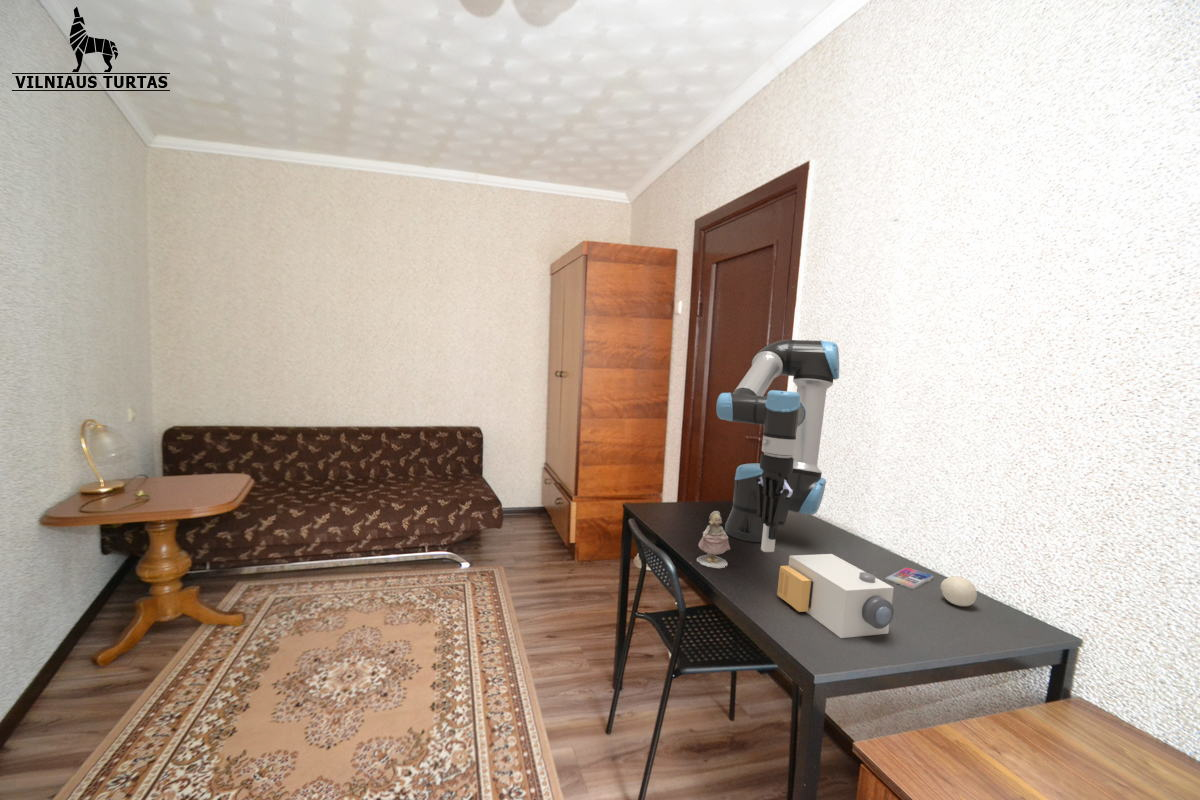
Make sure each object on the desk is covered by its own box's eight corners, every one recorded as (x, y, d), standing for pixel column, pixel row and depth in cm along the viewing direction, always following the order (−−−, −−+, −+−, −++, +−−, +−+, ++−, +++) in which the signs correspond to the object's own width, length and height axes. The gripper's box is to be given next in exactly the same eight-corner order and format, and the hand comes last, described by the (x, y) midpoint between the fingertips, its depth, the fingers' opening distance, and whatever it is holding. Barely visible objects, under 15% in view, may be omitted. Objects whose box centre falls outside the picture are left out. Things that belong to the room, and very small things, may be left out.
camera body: (784, 596, 118) (789, 551, 117) (827, 593, 121) (832, 549, 120) (849, 645, 98) (855, 591, 97) (898, 640, 101) (905, 588, 100)
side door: (776, 594, 116) (779, 566, 116) (785, 594, 117) (788, 565, 117) (799, 611, 109) (802, 581, 108) (808, 611, 109) (811, 580, 109)
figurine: (708, 571, 127) (701, 512, 131) (684, 569, 136) (678, 513, 139) (739, 566, 133) (732, 509, 136) (714, 564, 141) (708, 510, 144)
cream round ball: (950, 595, 125) (953, 570, 125) (981, 609, 118) (984, 582, 118) (931, 598, 123) (935, 572, 122) (962, 612, 116) (965, 585, 115)
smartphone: (883, 577, 132) (906, 566, 142) (883, 581, 133) (905, 569, 142) (914, 588, 127) (935, 575, 136) (913, 591, 127) (935, 579, 136)
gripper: (748, 449, 124) (739, 541, 125) (780, 459, 112) (770, 561, 113) (774, 450, 126) (765, 541, 127) (808, 460, 114) (798, 560, 115)
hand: (767, 550), depth 120 cm, fingers closed
